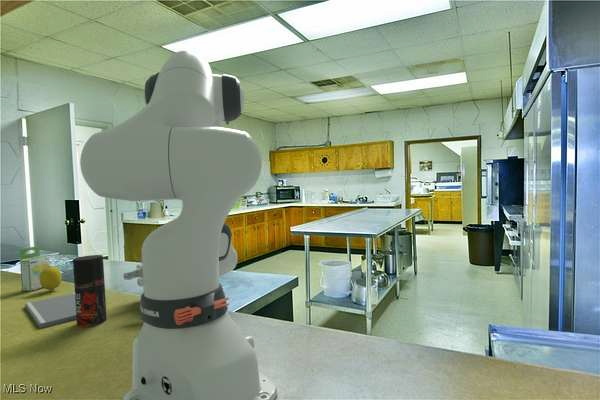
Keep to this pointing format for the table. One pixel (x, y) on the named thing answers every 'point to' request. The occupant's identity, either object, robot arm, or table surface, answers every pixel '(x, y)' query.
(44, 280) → the lemon
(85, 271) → the deodorant
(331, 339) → the table surface
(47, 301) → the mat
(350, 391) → the table surface
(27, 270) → the ink box
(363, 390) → the table surface
